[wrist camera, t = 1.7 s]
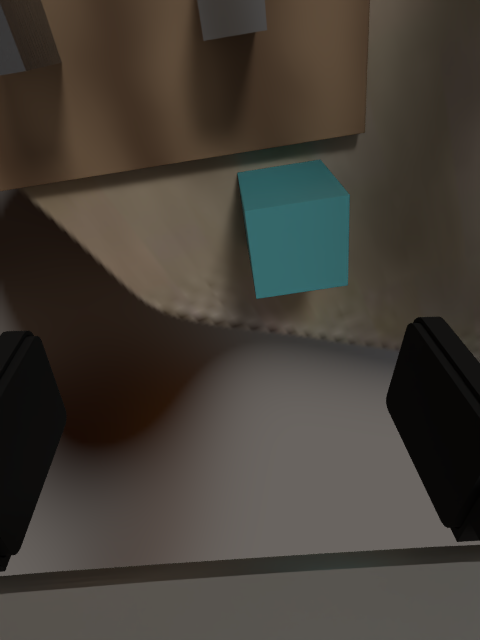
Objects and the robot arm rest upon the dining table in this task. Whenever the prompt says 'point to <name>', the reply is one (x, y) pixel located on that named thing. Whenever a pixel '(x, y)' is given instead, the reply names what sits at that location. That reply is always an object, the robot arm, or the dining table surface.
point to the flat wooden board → (182, 84)
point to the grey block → (25, 37)
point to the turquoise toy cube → (295, 228)
